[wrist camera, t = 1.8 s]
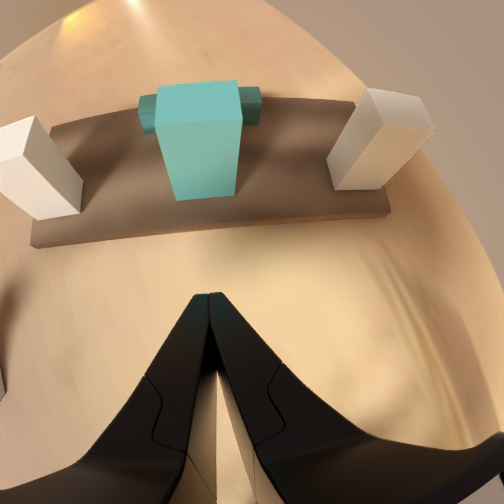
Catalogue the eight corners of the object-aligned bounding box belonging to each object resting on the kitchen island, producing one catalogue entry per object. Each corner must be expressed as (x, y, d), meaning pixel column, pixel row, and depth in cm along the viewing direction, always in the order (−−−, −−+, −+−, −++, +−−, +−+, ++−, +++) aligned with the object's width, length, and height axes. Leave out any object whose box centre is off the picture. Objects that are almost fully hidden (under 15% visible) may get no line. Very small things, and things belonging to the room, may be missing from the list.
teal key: (234, 195, 23) (242, 118, 14) (176, 200, 22) (154, 126, 14) (230, 162, 23) (236, 80, 15) (175, 167, 23) (157, 87, 14)
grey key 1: (379, 189, 24) (436, 131, 16) (334, 190, 24) (383, 123, 15) (370, 159, 25) (419, 97, 16) (326, 159, 24) (367, 87, 16)
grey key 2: (79, 213, 21) (22, 154, 13) (37, 220, 21) (-25, 171, 12) (83, 180, 22) (35, 115, 13) (42, 188, 21) (-13, 133, 13)
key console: (384, 216, 25) (408, 197, 21) (37, 249, 21) (11, 234, 17) (349, 108, 28) (363, 83, 24) (56, 133, 25) (40, 109, 21)
